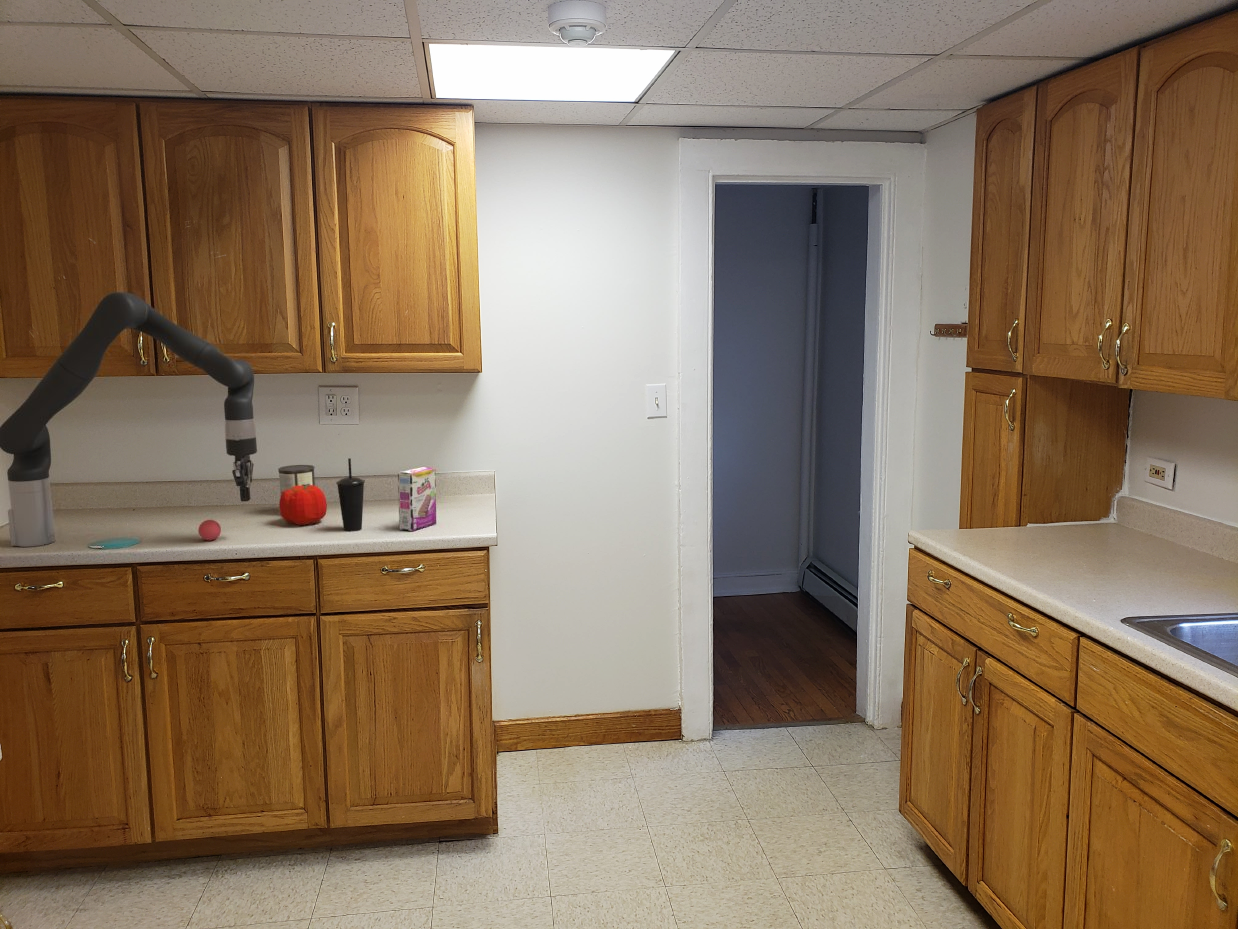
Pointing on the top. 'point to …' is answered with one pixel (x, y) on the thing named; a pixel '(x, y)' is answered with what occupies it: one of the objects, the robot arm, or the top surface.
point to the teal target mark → (115, 543)
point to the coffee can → (296, 476)
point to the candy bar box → (417, 498)
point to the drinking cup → (351, 501)
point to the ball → (209, 530)
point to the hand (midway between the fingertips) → (245, 500)
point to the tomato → (303, 505)
